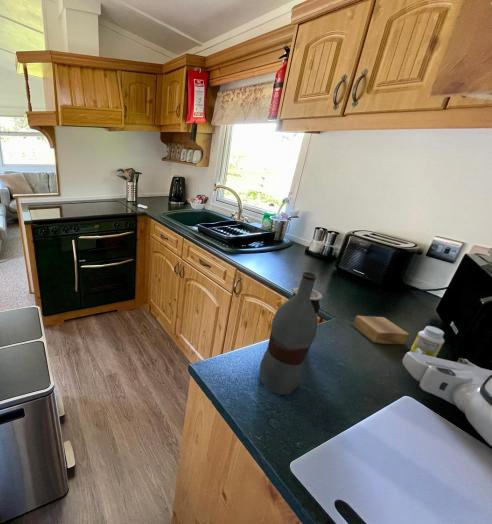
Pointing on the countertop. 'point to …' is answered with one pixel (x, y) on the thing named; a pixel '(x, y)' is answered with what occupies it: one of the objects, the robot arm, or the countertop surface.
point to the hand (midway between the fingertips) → (439, 355)
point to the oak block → (380, 330)
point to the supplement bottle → (429, 341)
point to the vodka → (290, 340)
